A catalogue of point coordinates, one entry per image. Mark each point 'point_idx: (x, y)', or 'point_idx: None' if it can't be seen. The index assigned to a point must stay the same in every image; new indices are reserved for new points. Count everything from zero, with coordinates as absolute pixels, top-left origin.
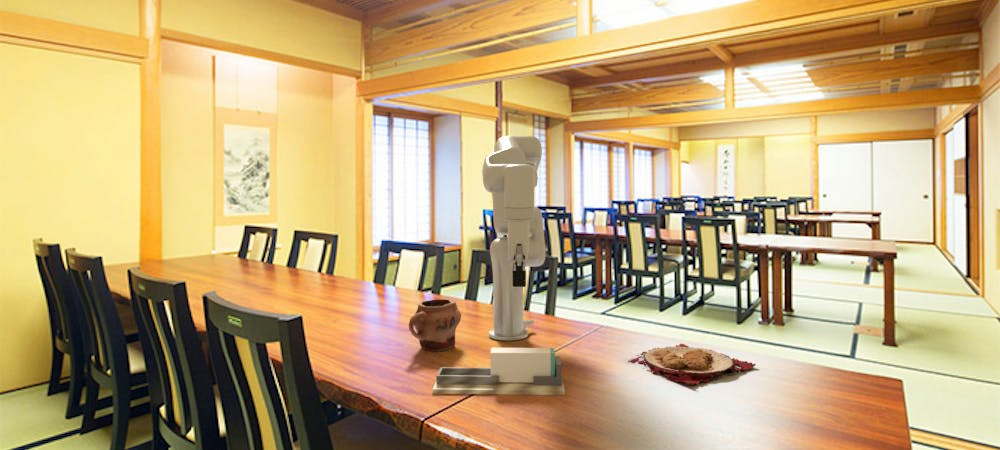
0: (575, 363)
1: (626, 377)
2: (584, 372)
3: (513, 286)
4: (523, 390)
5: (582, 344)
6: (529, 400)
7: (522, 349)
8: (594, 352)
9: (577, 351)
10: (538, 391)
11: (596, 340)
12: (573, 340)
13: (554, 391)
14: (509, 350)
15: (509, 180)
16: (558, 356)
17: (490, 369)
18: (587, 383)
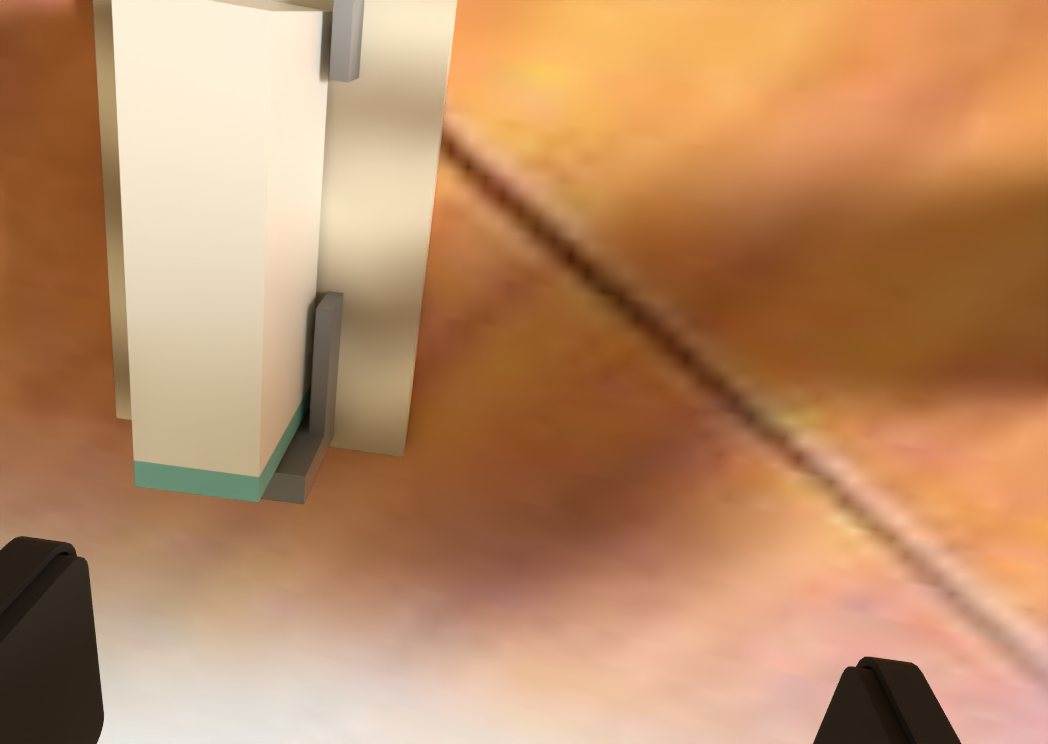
0: (599, 554)
1: (367, 706)
2: (452, 563)
3: (22, 541)
4: (104, 198)
5: (917, 657)
6: (37, 213)
7: (218, 281)
8: (757, 677)
9: (800, 607)
10: (110, 282)
11: (960, 733)
12: (1012, 632)
13: (114, 366)
14: (186, 171)
15: None
16: (298, 495)
17: (336, 2)
18: (293, 540)
